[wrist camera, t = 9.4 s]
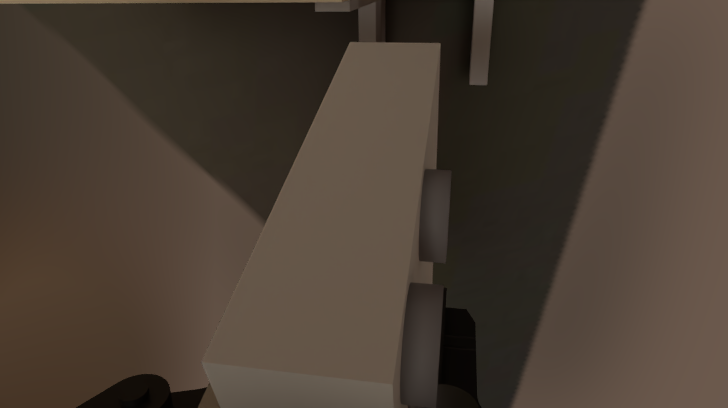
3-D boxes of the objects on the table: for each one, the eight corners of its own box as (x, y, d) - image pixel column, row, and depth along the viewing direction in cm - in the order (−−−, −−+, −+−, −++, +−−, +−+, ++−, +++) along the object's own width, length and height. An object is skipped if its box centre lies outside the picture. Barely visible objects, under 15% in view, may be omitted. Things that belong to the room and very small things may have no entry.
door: (349, 42, 14) (200, 362, 7) (487, 43, 14) (498, 397, 6) (371, 326, 22) (313, 628, 14) (460, 335, 21) (450, 655, 14)
